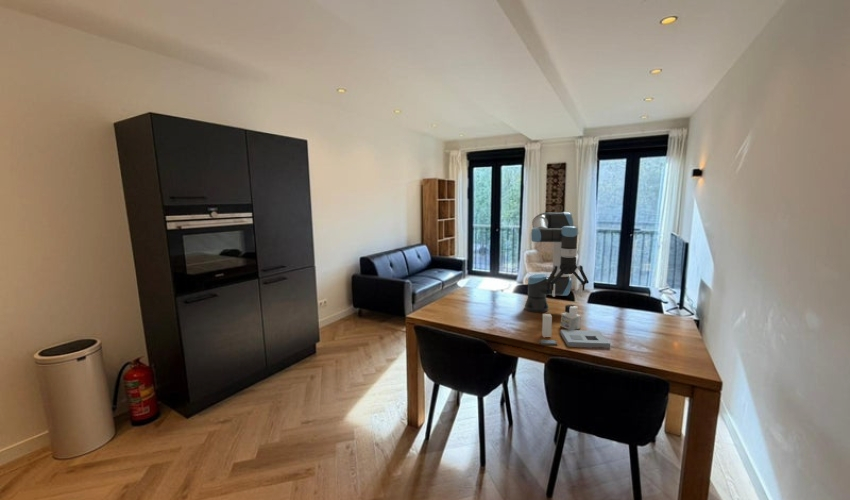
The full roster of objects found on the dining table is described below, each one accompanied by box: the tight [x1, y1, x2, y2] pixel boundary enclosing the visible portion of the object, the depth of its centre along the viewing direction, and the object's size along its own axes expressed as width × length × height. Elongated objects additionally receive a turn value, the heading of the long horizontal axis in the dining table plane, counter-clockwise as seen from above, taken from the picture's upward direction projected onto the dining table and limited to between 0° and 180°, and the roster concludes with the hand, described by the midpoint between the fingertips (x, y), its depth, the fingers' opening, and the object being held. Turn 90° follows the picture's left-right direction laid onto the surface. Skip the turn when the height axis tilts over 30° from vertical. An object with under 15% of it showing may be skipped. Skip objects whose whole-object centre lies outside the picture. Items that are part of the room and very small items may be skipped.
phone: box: [539, 339, 558, 346], centre depth 178 cm, size 4×8×1 cm, turn 81°
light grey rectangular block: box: [541, 313, 553, 338], centre depth 186 cm, size 4×4×12 cm
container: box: [560, 304, 582, 330], centre depth 197 cm, size 8×8×13 cm
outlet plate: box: [560, 329, 611, 349], centre depth 180 cm, size 16×20×3 cm
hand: (566, 296), depth 180 cm, fingers open, 13 cm apart
